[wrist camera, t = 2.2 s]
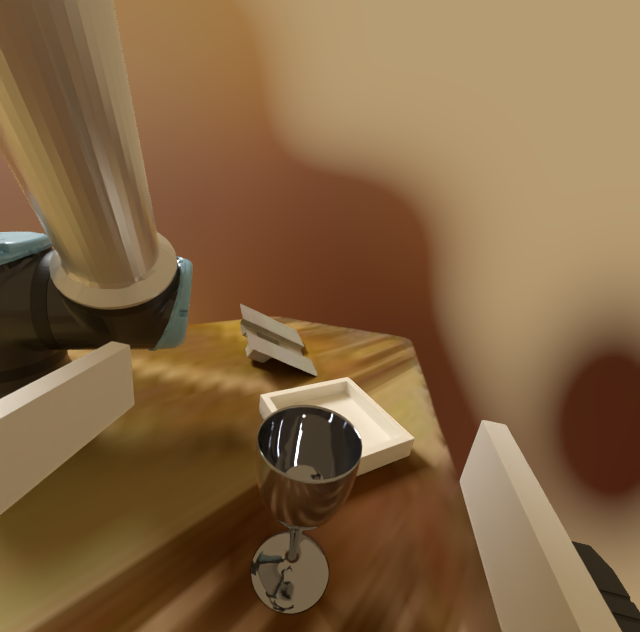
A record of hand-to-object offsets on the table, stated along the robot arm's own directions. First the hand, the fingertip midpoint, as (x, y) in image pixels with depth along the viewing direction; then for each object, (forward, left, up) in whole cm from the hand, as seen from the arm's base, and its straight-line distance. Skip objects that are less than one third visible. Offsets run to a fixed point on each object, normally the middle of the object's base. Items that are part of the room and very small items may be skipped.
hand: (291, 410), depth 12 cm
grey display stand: (-44, +20, -25) cm, 55 cm away
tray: (-22, +19, -25) cm, 38 cm away
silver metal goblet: (-8, +6, -25) cm, 27 cm away
